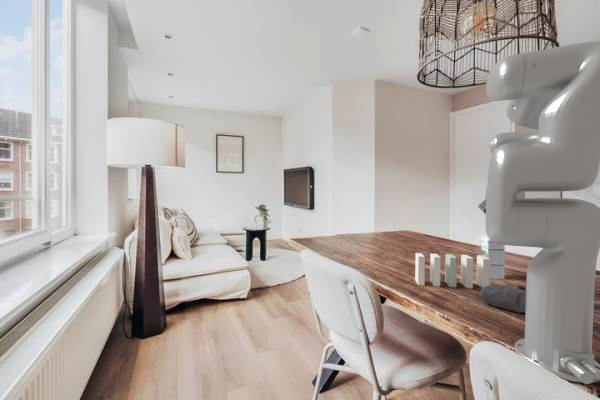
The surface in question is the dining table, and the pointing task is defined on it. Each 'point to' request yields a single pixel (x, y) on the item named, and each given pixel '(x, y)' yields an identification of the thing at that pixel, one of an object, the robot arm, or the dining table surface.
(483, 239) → the syrup box
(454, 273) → the domino
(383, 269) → the dining table surface
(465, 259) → the domino
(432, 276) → the domino
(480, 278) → the domino
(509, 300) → the perforated stone tool
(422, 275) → the domino
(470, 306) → the dining table surface
